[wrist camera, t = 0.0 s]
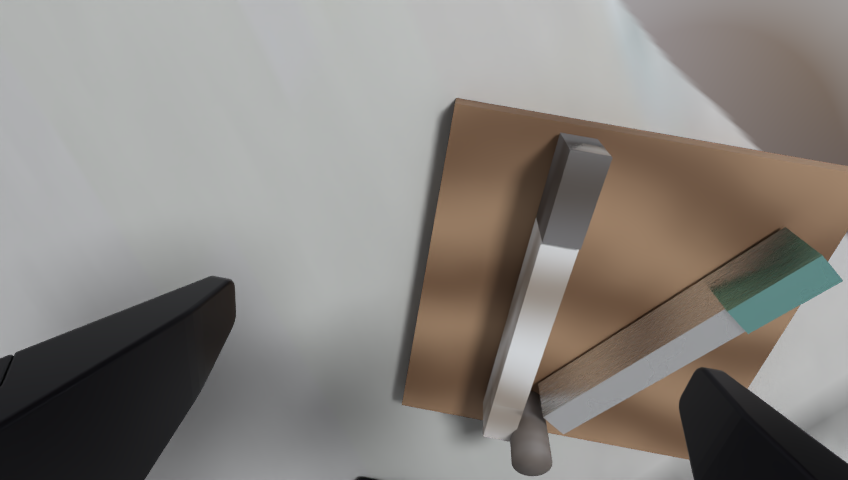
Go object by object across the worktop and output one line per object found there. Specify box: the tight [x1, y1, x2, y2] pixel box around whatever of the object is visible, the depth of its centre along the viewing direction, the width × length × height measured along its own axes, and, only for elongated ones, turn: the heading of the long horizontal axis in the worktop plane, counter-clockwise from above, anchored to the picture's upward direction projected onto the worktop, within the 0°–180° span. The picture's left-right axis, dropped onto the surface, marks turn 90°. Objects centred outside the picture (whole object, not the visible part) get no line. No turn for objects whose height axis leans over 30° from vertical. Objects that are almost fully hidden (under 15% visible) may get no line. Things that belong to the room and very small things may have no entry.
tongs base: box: [402, 98, 848, 476], centre depth 23 cm, size 18×18×5 cm
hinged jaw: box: [538, 227, 843, 434], centre depth 23 cm, size 14×2×3 cm, turn 137°
